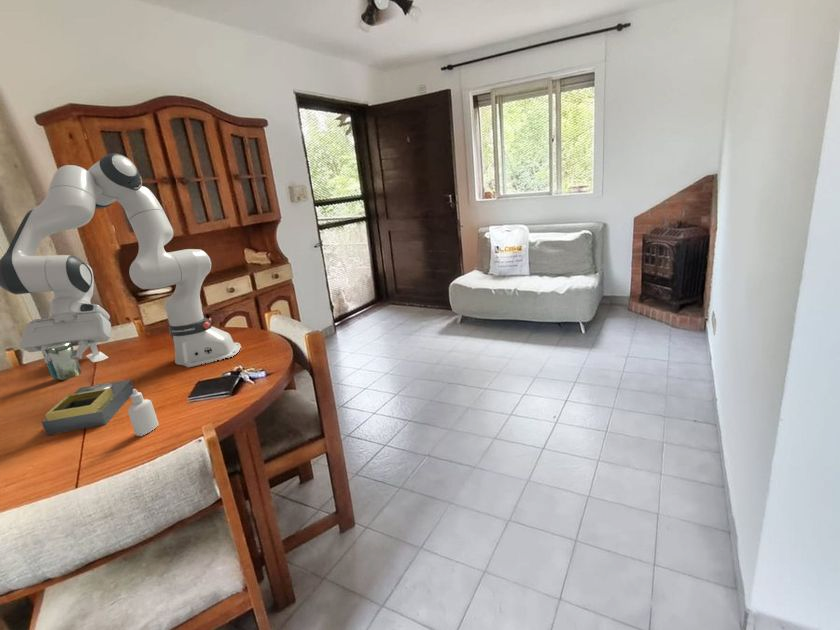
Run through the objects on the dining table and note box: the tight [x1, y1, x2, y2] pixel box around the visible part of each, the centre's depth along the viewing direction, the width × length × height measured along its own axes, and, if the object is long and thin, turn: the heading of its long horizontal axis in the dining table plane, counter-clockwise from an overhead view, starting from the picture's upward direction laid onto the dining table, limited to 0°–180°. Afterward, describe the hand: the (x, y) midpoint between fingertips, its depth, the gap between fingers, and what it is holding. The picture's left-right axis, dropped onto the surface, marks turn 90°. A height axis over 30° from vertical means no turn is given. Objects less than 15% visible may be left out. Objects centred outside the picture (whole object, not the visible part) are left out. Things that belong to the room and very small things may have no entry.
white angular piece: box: [85, 343, 109, 363], centre depth 162 cm, size 16×5×18 cm, turn 49°
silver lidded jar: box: [47, 341, 83, 381], centre depth 111 cm, size 5×7×9 cm
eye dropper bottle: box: [127, 388, 159, 437], centre depth 108 cm, size 4×6×12 cm
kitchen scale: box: [41, 379, 135, 436], centre depth 121 cm, size 20×14×6 cm
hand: (63, 360), depth 112 cm, fingers closed on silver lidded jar, 5 cm apart
